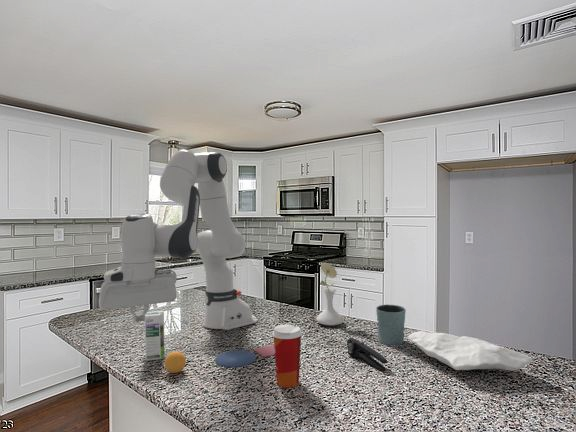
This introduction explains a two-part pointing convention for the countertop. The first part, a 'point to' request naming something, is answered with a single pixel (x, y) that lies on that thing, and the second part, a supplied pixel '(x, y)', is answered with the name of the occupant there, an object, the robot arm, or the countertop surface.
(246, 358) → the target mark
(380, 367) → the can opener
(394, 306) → the teal cup
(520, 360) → the crumpled cloth
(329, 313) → the flower in vase
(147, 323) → the syrup box
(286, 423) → the countertop surface
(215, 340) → the countertop surface
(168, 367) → the ball
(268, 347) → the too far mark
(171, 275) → the robot arm
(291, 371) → the coffee cup
